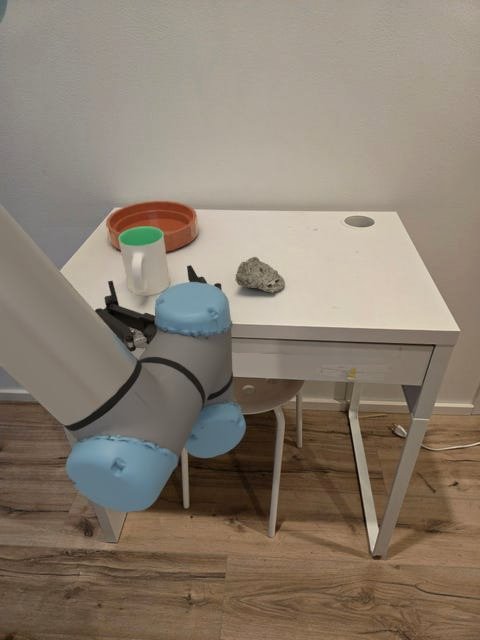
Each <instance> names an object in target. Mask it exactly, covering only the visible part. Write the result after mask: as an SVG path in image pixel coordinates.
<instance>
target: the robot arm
mask: <svg viewBox="0 0 480 640" xmlns="http://www.w3.org/2000/svg"><path fill="white" fill-rule="evenodd" d="M7 8H8V0H0V24H1V23H2V22H3V20H4V18H5V15H6V12H7ZM186 270H187V280H188V281H186V282H182V283H177V284H174V285H172V286H169V287H168V288H167V289H166V290H164V291H163V292H161V293H159V295H158V297H157V298H156V299H155V304H154V315H153V314H151V313H148V312H144V313H142V312H139V311H135V310H132V309H130V308H127V307H123V306H121V305H120V303H119V299H118V296H117V292H116V288H115V284H114V281H113V280H107V283H108V288H109V291H110V295H105V296H104V303H105V307H104V308H101V307H99V308H96V309H94V308H93V307H92V306H91V305H90V304H89V303H88V301H87V300H86V299H85V298H84V296H82V295H81V293H80V292H79V291H78V290H77V289H76V288H75V286H74V285H73V284H72V283H71V282H70V281H69V280H68V279H67V278H66V277H65V275H64V274H63V273H62V272H61V270H59V269H58V267H57V266H56V265H55V264H54V263H53V262H52V260H51V259H50V258H49V257H48V256H47V255H46V254H45V252H43V250H42V249H41V248H40V247H39V245H37V244H36V243H35V241H34V240H33V239H32V237H31V236H30V235H29V234H28V233H27V232H26V231H25V230H24V229H23V228H22V226H21V225H20V224H19V223H18V221H16V219H15V218H14V217H13V216H12V215H11V213H9V212H8V210H7V209H6V208H5V207H4V206H3V205H2V204H1V203H0V367H1V368H2V369H3V370H4V371H5V372H6V373H7V374H8V375H9V376H11V377H12V378H13V379H14V380H15V381H16V382H17V383H18V384H19V385H20V386H21V387H22V388H23V389H24V390H25V391H26V392H27V393H28V394H29V395H31V397H32V398H34V400H36V402H37V403H39V404H40V405H41V406H42V407H43V408H44V409H45V410H46V411H47V412H49V414H51V416H52V417H54V418H55V419H56V420H57V421H58V422H59V423H60V424H61V425H62V426H63V427H64V428H65V429H66V430H67V431H68V432H69V433H70V435H72V436H73V437H74V438H75V440H76V441H75V443H74V444H73V446H72V447H71V452H70V454H69V455H68V456H67V458H66V463H65V471H66V474H67V476H68V477H69V479H70V480H72V484H73V487H74V488H75V489H76V490H77V491H78V492H79V493H80V494H81V495H83V496H84V497H86V499H88V500H90V501H91V502H92V503H94V504H96V505H99V506H100V507H103V508H105V509H109V510H111V511H115V512H119V513H128V514H129V513H133V512H142V511H145V510H146V509H148V508H150V507H152V505H153V504H154V503H155V502H156V501H157V499H158V498H159V496H160V494H161V492H162V491H163V488H164V487H165V485H167V482H168V481H169V479H170V477H171V475H172V473H173V471H174V470H175V469H176V468H177V467H178V465H179V459H180V457H181V454H182V452H183V450H185V451H186V452H187V453H188V454H190V456H193V457H195V458H198V459H199V458H200V459H211V458H215V457H217V456H219V455H224V454H226V453H228V452H230V451H231V450H233V449H234V448H235V447H236V446H237V445H238V444H240V442H241V440H242V439H243V437H244V435H245V433H246V429H247V423H246V420H245V417H244V414H243V412H242V410H243V409H242V405H240V404H239V403H238V402H237V399H236V396H235V385H234V384H235V383H234V372H233V371H234V370H233V344H232V343H233V342H232V339H233V338H232V327H234V326H233V325H234V324H233V320H232V317H231V309H230V302H229V301H230V300H229V299H228V297H227V295H226V294H225V292H224V291H223V289H222V283H220V282H216V283H214V284H210V283H208V282H207V280H206V279H205V277H204V276H202V275H201V276H198V275H197V273H196V271H195V269H194V267H193V265H192V264H190V265H186ZM136 331H139V332H141V333H138V332H136ZM142 344H147V346H146V347H145V349H144V351H143V352H142V353H141V355H140V356H139V357H138V358H137V357H136V356H135V355H134V354H133V353H132V352H135V351H136V350H137V346H139V345H142Z"/></svg>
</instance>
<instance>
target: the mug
mask: <svg viewBox="0 0 480 640" xmlns="http://www.w3.org/2000/svg"><path fill="white" fill-rule="evenodd" d="M119 244H120V249H121V250H120V249H119V250H120V252H121V258H122V263H123V267H124V274H125V278H126V282H127V287H128V291H129V292H130V293H132V294H133V295H136V296H143V297H146V296H147V297H148V296H154V295H158V294H161V293H162V292H163V291H165V290H166V289H168V288H170V285H171V284H170V281H171V280H170V274H169V273H170V272H169V266H168V258H167V252H166V250H165V243H164V236H163V232H162V231H161V230H160V229H158V228H155V227H136V228H132V229H129V230H126V231H124V232H123V233H121V234H120V236H119Z"/></svg>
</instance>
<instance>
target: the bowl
mask: <svg viewBox="0 0 480 640" xmlns="http://www.w3.org/2000/svg"><path fill="white" fill-rule="evenodd" d="M105 222H106V223H105V227H106V232H107V235H108V241H109V242H110V244H111V246H113V247H115V248H116V249H117V250H120V251H121V249H120V244H119V236H120V234H121V233H123V232H124V231H126V230H129V229H132V228H136V227H155V228H158V229H160V230H161V231H162V232H163V236H164V243H165V250H166V253H168V252H172V251H175V250H178V249H179V248H182V247H185V246H186V245H188V244H190V243H191V242H193V241H194V240H195V238H196V237H197V235H198V233H199V226H198V215H197V211H196V210H195V209H194V208H193V207H191V206H189V205H187V204H184V203H181V202H177V201H168V200H151V201H143V202H137V203H133V204H130V205H126V206H124V207H121V208H119V209H117V210H115V211H114V212H112V213H111V214H110V215H108V217H107V218H106V221H105Z"/></svg>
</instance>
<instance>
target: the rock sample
mask: <svg viewBox="0 0 480 640" xmlns="http://www.w3.org/2000/svg"><path fill="white" fill-rule="evenodd" d="M234 282H235V283H237V285H238V286H241V287H242V286H243V287H245V288H246V289H259V290H260V291H259V292H261V291H263V292H268V293H272V294H273V293H277V292H279V291H282V290H283V288H284V287H285V279H284V278H283V276H281V275H280V274H279V271H278V270H276V269H274V268H273V267H271V265H270V264H268V263H265V262H263V261H261V260H260V259H259V258H258V257H257V256H253V257H249V258H248V259H247V260H246V261H242V262H241V263H240V264H239V266H238V268H237V271H236V274H235V280H234Z"/></svg>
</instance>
